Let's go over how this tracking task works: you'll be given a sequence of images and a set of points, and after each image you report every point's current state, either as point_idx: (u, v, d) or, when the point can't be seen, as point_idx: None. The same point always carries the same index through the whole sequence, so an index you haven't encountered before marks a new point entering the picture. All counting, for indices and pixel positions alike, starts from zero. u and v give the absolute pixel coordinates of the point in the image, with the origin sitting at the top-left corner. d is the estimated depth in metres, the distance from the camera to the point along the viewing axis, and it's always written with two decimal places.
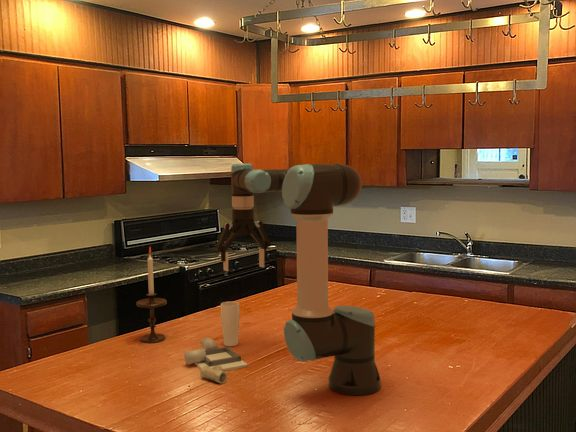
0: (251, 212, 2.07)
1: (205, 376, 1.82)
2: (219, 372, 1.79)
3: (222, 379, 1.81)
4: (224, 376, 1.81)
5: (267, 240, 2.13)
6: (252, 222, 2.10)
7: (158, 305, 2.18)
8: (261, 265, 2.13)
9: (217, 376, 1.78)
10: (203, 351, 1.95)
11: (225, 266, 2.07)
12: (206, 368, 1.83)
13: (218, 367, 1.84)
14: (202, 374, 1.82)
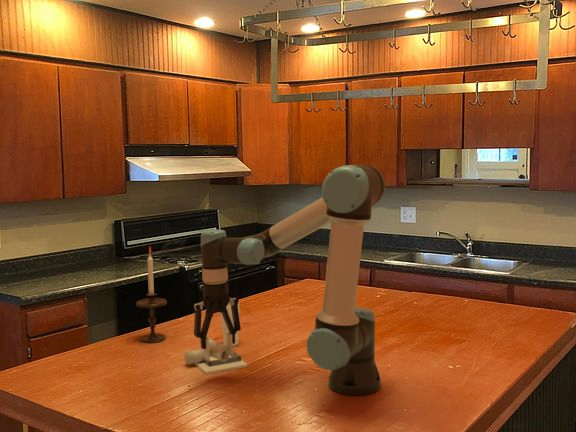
0: (224, 287, 1.78)
1: None
2: (221, 349, 1.78)
3: (225, 357, 1.80)
4: (227, 354, 1.80)
5: (237, 323, 1.83)
6: (226, 297, 1.81)
7: (158, 305, 2.18)
8: (229, 353, 1.83)
9: (219, 353, 1.77)
10: (203, 351, 1.95)
11: (206, 354, 1.80)
12: (210, 346, 1.82)
13: (222, 345, 1.83)
14: None
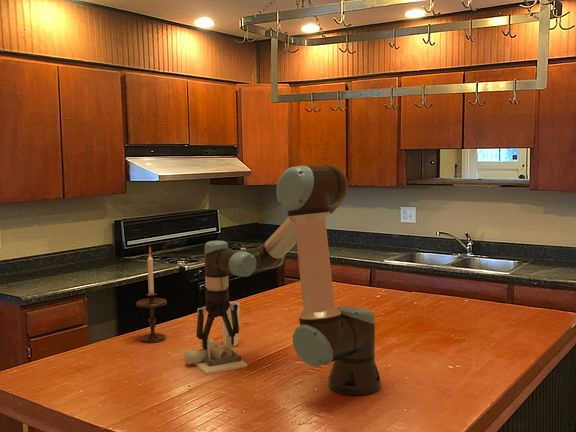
0: (225, 293, 1.95)
1: None
2: (221, 350, 1.95)
3: (224, 357, 1.97)
4: (226, 354, 1.97)
5: (236, 326, 2.00)
6: (227, 302, 1.98)
7: (158, 305, 2.18)
8: (228, 353, 2.00)
9: (219, 354, 1.94)
10: (203, 351, 1.95)
11: (207, 354, 1.97)
12: (210, 346, 1.99)
13: (221, 346, 2.00)
14: None
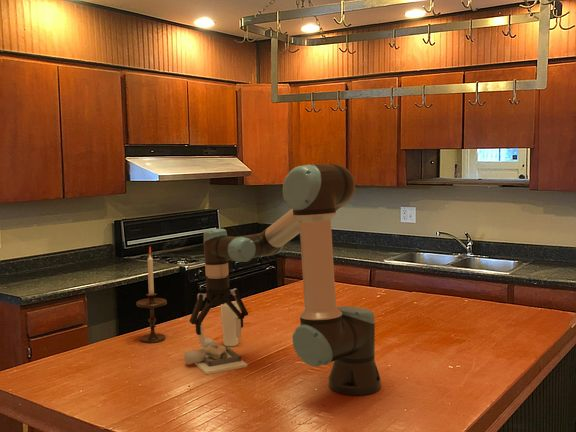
0: (226, 281, 1.95)
1: (209, 354, 1.98)
2: (220, 351, 1.95)
3: (223, 358, 1.97)
4: (225, 355, 1.97)
5: (244, 309, 2.00)
6: (227, 290, 1.97)
7: (158, 305, 2.18)
8: (238, 336, 2.01)
9: (218, 354, 1.94)
10: (203, 351, 1.95)
11: (201, 340, 1.95)
12: (210, 347, 1.99)
13: (221, 347, 2.00)
14: (206, 353, 1.99)
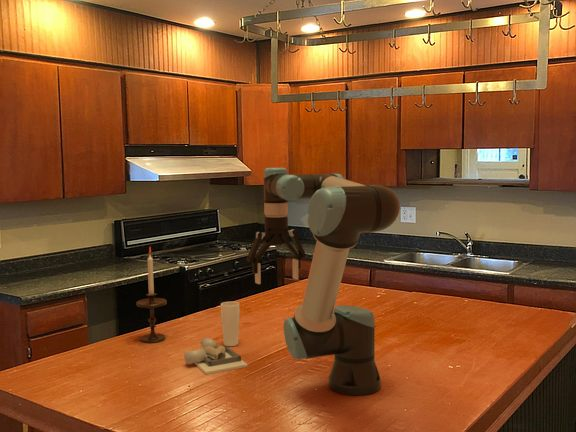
0: (285, 220, 1.92)
1: (207, 354, 1.99)
2: (218, 351, 1.95)
3: (221, 358, 1.96)
4: (223, 355, 1.96)
5: (301, 250, 1.98)
6: (286, 230, 1.94)
7: (158, 305, 2.18)
8: (295, 277, 1.98)
9: (215, 355, 1.94)
10: (203, 351, 1.95)
11: (257, 278, 1.92)
12: (209, 347, 1.99)
13: (220, 347, 2.00)
14: None
